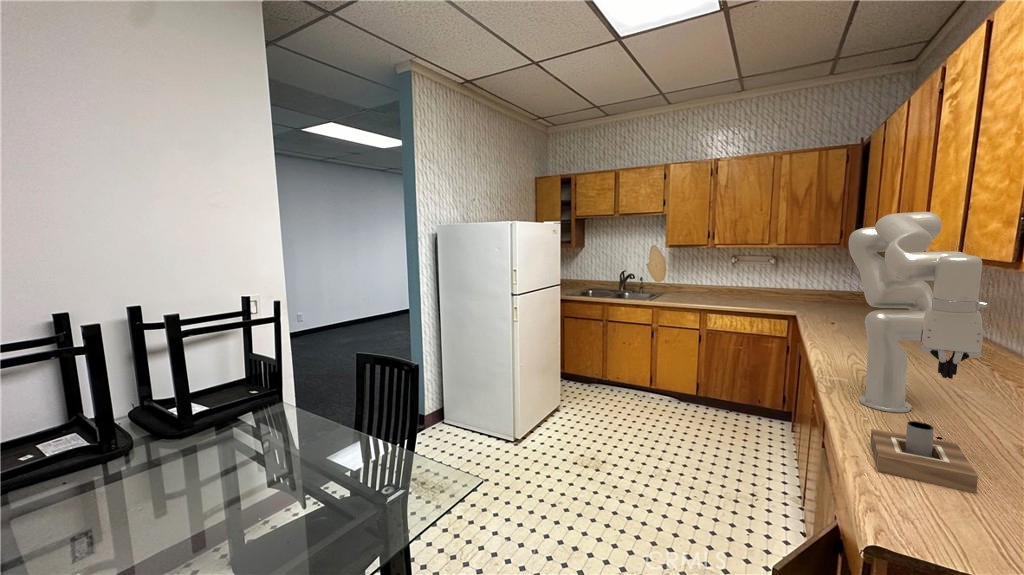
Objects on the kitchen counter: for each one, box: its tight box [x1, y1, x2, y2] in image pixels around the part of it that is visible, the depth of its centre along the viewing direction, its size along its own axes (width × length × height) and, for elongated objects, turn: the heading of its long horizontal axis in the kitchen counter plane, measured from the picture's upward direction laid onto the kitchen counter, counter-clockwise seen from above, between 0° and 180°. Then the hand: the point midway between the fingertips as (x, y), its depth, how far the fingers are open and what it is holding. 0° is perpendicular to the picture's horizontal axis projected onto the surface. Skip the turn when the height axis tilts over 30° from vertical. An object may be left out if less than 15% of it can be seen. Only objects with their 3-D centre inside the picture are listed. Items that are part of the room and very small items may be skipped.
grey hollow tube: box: [905, 420, 935, 458], centre depth 98 cm, size 4×4×10 cm
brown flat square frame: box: [870, 428, 979, 494], centre depth 98 cm, size 16×16×4 cm
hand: (946, 376), depth 101 cm, fingers closed
